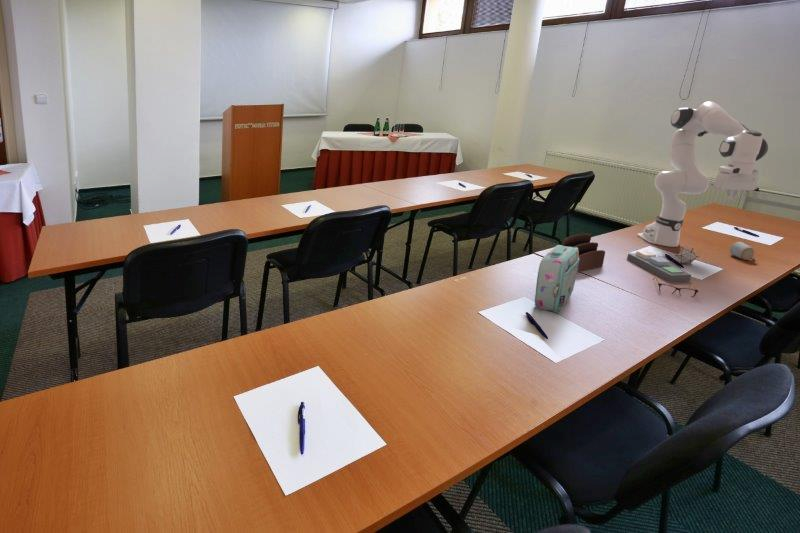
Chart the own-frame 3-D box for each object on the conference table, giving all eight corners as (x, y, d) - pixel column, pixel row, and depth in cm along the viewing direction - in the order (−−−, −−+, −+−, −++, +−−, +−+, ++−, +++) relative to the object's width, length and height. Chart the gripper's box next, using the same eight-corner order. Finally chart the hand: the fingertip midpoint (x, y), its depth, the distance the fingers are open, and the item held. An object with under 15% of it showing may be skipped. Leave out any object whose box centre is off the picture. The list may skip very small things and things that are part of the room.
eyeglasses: (656, 292, 190) (659, 283, 189) (652, 280, 203) (654, 271, 201) (696, 299, 186) (699, 290, 184) (689, 286, 198) (692, 278, 197)
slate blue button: (647, 263, 216) (649, 257, 215) (658, 262, 217) (660, 256, 216) (656, 267, 211) (658, 261, 210) (668, 267, 212) (669, 261, 211)
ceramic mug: (740, 260, 236) (745, 246, 233) (727, 254, 243) (732, 241, 240) (758, 261, 237) (763, 247, 234) (745, 255, 245) (750, 241, 242)
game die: (683, 270, 228) (696, 253, 227) (692, 270, 219) (706, 253, 219) (668, 259, 228) (681, 242, 228) (677, 258, 220) (690, 241, 219)
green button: (660, 273, 209) (661, 267, 208) (671, 272, 210) (673, 266, 209) (669, 278, 203) (671, 272, 202) (681, 278, 205) (683, 271, 204)
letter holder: (556, 265, 211) (562, 236, 206) (584, 259, 221) (590, 231, 216) (574, 273, 203) (581, 243, 198) (602, 267, 214) (609, 237, 209)
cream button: (635, 256, 224) (636, 250, 223) (645, 256, 225) (647, 250, 224) (643, 261, 218) (645, 255, 217) (654, 260, 220) (656, 255, 219)
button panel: (626, 258, 226) (628, 253, 225) (645, 258, 229) (647, 252, 227) (669, 281, 201) (671, 275, 200) (689, 281, 203) (691, 274, 202)
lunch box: (558, 320, 160) (571, 262, 152) (529, 312, 164) (539, 255, 156) (573, 294, 181) (585, 242, 174) (547, 287, 186) (557, 236, 178)
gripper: (753, 168, 211) (743, 198, 216) (716, 166, 206) (706, 197, 211) (766, 170, 205) (755, 201, 210) (728, 169, 200) (718, 200, 205)
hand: (730, 199), depth 210 cm, fingers closed
